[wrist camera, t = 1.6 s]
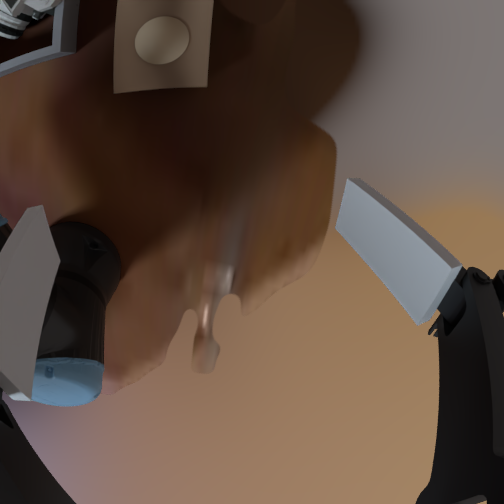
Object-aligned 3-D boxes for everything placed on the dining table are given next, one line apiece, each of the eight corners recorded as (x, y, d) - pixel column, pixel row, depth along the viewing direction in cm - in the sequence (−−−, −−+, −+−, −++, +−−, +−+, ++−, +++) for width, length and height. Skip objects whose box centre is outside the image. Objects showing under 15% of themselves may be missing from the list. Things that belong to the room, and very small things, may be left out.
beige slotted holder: (124, 87, 27) (113, 94, 21) (136, -51, 15) (131, -77, 9) (197, 82, 30) (207, 87, 24) (210, -53, 18) (225, -79, 12)
